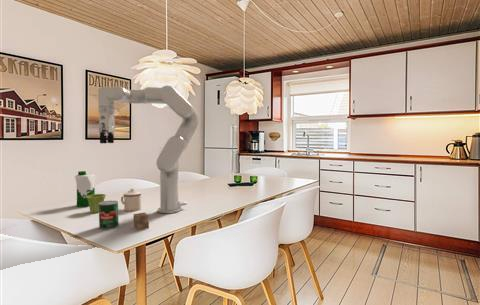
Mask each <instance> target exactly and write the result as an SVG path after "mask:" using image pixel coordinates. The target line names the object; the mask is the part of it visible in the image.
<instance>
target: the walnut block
mask: <svg viewBox="0 0 480 305" xmlns="http://www.w3.org/2000/svg"><path fill="white" fill-rule="evenodd" d="M149 220H150V217H149V214H148V213H147V212H146V211H145V212H138V213H133V228H134V229H135V230H136V231H141V230H146V229H150V221H149Z"/></svg>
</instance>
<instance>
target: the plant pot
mask: <svg viewBox="0 0 480 305" xmlns="http://www.w3.org/2000/svg"><path fill="white" fill-rule="evenodd" d="M106 196H107V194H105V193H95V194H94V195H89V196H86V198H87V200H88V202H89V212H90V213H91V214H95V213H99V203H100V202H103V201H105V199H106Z"/></svg>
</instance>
